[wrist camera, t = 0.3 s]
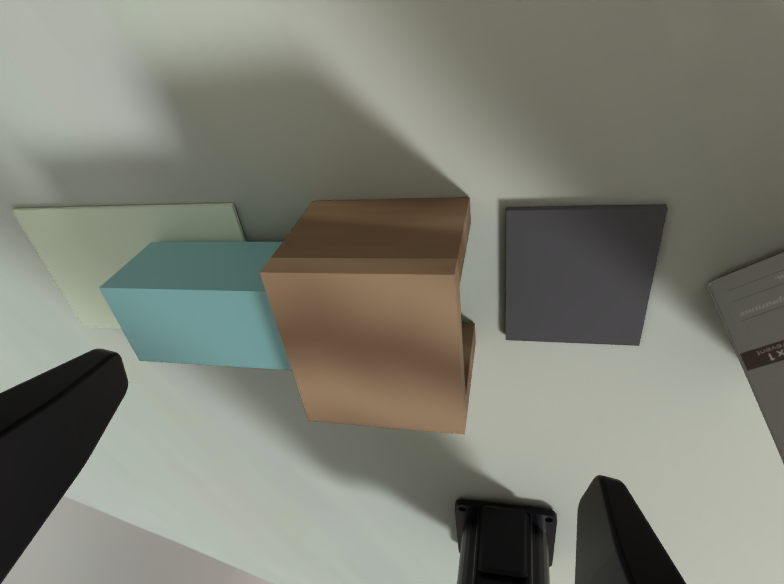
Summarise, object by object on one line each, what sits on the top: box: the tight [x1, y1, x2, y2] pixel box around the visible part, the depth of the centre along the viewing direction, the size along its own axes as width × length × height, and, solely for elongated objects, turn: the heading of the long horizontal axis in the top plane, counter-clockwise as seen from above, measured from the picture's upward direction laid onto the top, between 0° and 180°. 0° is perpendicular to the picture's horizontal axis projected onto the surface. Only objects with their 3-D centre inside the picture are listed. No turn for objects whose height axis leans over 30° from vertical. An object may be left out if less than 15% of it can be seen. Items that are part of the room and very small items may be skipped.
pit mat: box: [506, 204, 667, 346], centre depth 22 cm, size 7×6×1 cm
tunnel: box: [260, 197, 475, 434], centre depth 22 cm, size 8×7×6 cm
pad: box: [12, 203, 246, 329], centre depth 27 cm, size 8×13×1 cm, turn 98°
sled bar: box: [99, 242, 292, 370], centre depth 24 cm, size 4×14×4 cm, turn 98°
